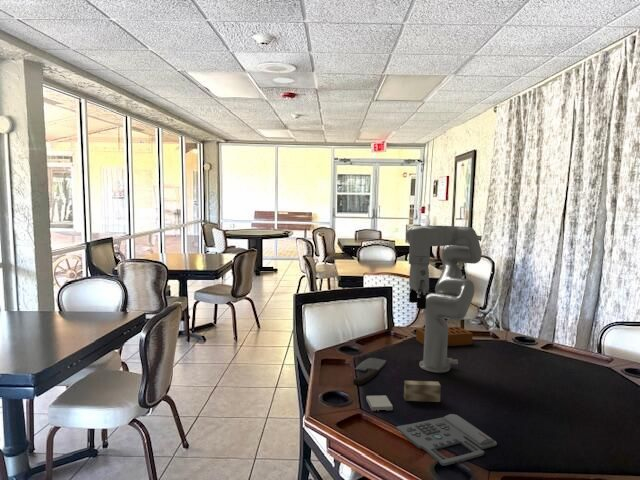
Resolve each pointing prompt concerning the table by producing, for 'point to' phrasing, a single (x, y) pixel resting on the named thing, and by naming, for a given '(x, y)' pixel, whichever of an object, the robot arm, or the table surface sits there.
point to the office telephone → (447, 437)
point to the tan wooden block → (422, 391)
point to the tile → (379, 403)
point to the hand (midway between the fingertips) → (417, 305)
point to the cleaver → (368, 369)
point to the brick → (450, 336)
